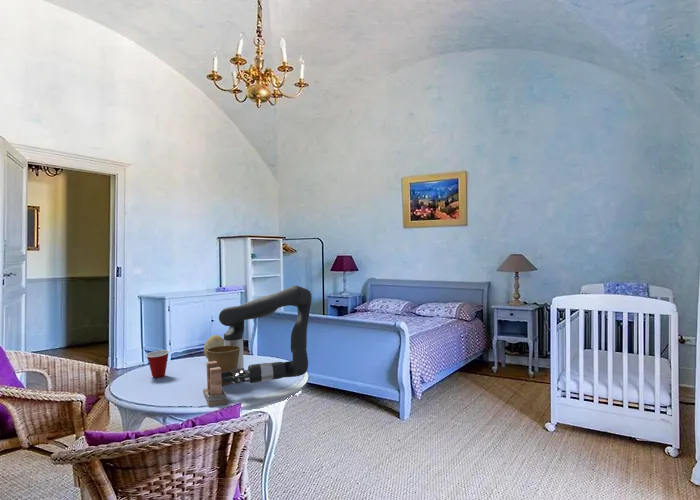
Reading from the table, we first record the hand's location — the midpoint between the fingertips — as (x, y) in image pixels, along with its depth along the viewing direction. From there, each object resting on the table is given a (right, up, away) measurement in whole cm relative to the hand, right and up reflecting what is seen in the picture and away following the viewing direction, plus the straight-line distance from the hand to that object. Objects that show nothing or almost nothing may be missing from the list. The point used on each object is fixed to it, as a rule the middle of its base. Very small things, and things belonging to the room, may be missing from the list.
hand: (221, 378), depth 188 cm
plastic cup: (-43, -11, +42) cm, 61 cm away
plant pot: (-6, -10, +26) cm, 29 cm away
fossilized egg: (-22, -10, +69) cm, 73 cm away
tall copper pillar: (-2, -8, -1) cm, 8 cm away
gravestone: (-4, -9, +4) cm, 11 cm away
